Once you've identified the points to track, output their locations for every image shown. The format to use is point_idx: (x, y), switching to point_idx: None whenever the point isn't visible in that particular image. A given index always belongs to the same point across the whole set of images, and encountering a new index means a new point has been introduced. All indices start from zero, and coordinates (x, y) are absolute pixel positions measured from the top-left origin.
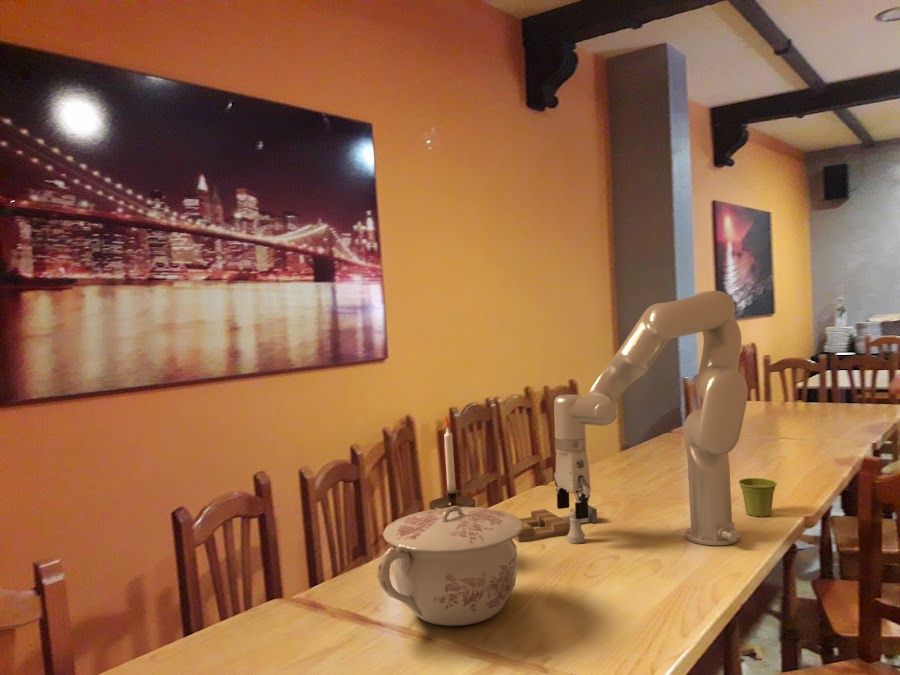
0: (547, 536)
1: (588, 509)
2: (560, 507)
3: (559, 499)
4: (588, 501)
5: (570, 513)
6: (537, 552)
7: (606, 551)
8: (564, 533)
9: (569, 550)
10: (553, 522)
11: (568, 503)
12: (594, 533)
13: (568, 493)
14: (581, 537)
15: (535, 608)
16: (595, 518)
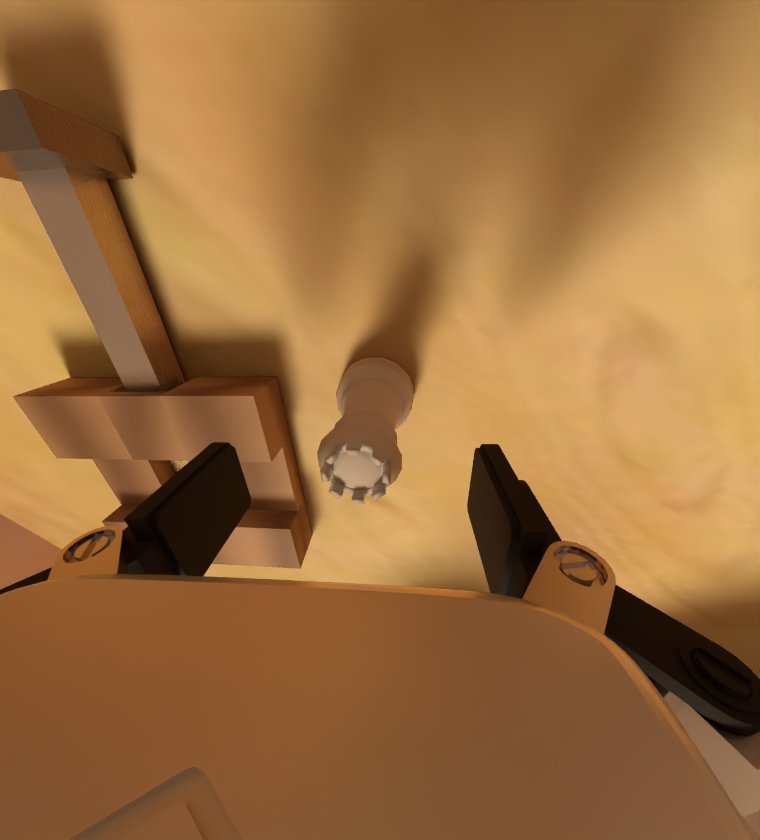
0: (293, 459)
1: (7, 156)
2: (246, 498)
3: (217, 545)
4: (592, 553)
5: (368, 493)
6: (418, 530)
7: (557, 340)
8: (279, 397)
9: (455, 454)
10: (238, 449)
11: (220, 464)
12: (303, 261)
13: (160, 519)
14: (411, 395)
15: (722, 643)
16: (99, 141)
